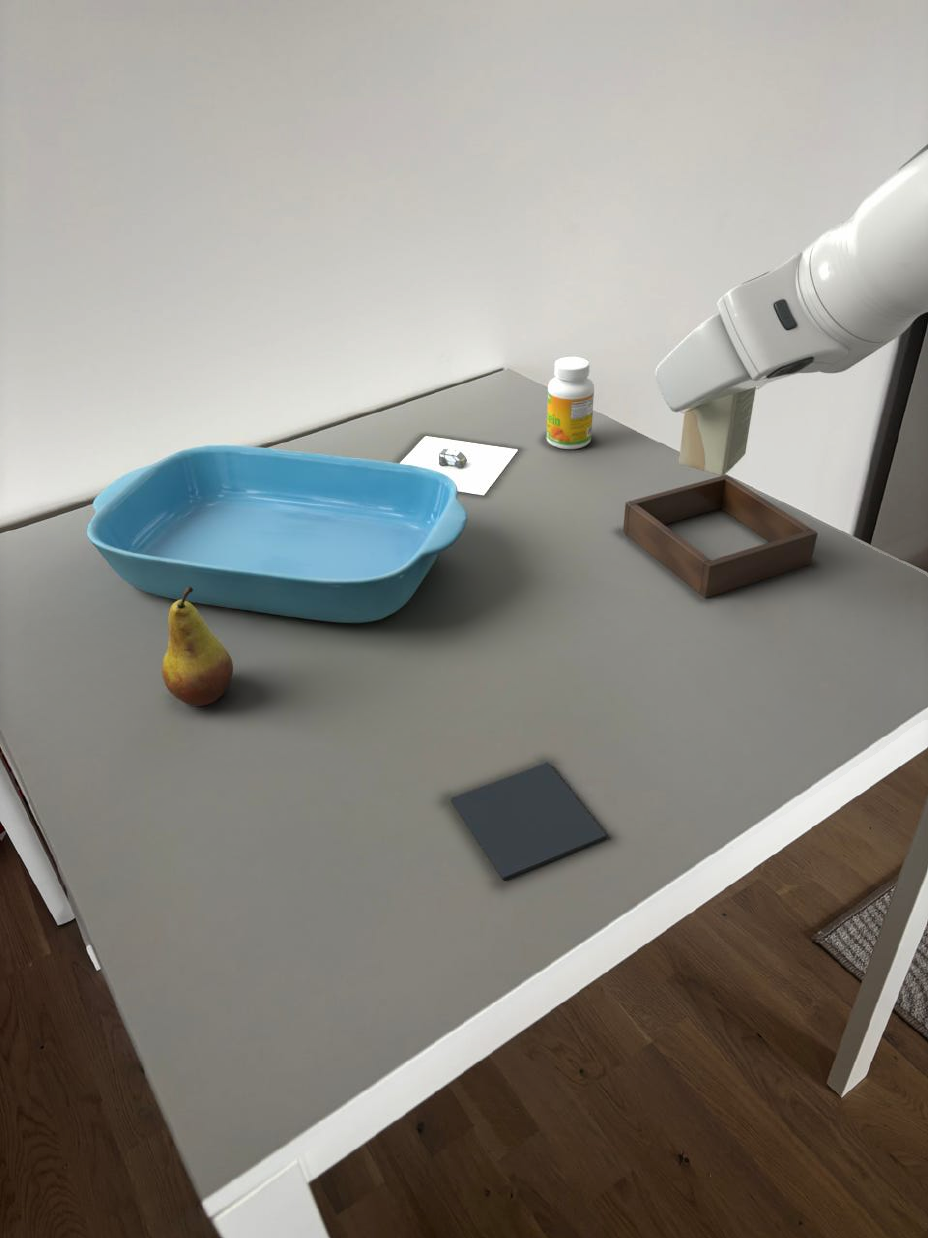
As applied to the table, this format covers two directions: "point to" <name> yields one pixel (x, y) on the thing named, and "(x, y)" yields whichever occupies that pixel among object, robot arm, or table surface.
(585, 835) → the mat
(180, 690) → the fruit
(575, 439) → the supplement bottle
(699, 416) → the box
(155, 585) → the casserole dish
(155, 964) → the table surface
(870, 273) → the robot arm
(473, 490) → the white card
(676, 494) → the crate
